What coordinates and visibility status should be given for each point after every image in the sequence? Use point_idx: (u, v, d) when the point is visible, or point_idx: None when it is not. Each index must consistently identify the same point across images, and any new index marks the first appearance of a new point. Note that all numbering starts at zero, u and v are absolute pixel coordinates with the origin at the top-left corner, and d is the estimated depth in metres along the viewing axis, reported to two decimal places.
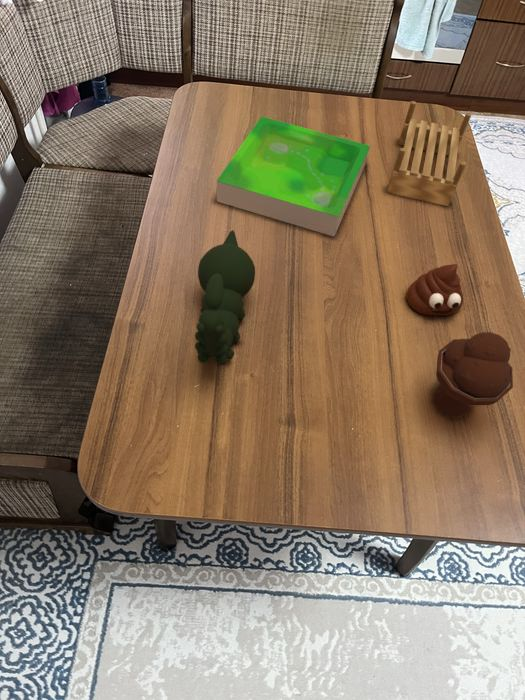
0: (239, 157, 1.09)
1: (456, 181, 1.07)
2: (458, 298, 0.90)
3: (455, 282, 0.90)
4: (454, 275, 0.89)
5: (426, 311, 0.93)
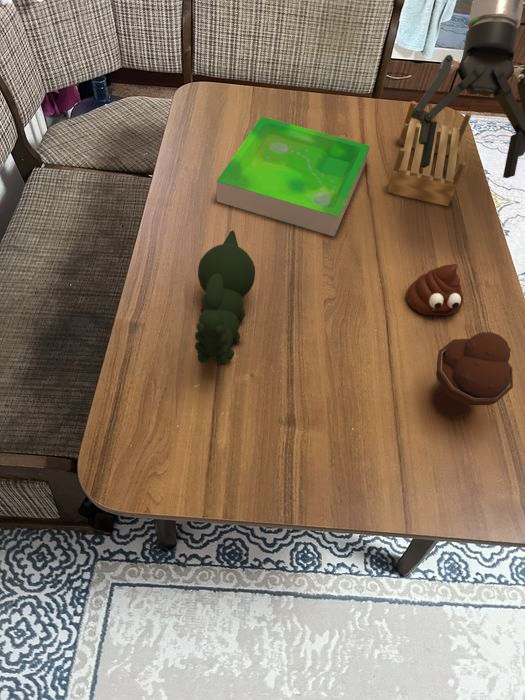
0: (239, 157, 1.09)
1: (456, 181, 1.07)
2: (458, 298, 0.90)
3: (455, 282, 0.90)
4: (454, 275, 0.89)
5: (426, 311, 0.93)
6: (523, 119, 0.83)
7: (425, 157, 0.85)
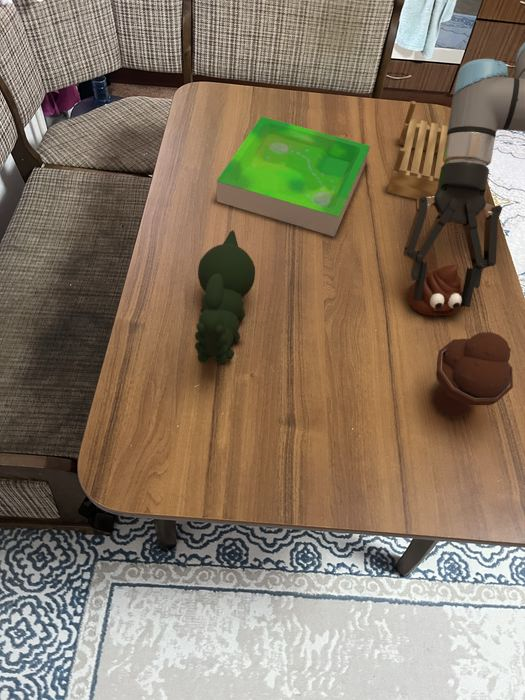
0: (239, 157, 1.09)
1: None
2: (459, 298, 0.90)
3: (455, 282, 0.90)
4: (455, 275, 0.89)
5: (427, 311, 0.93)
6: (480, 256, 0.88)
7: (417, 294, 0.90)
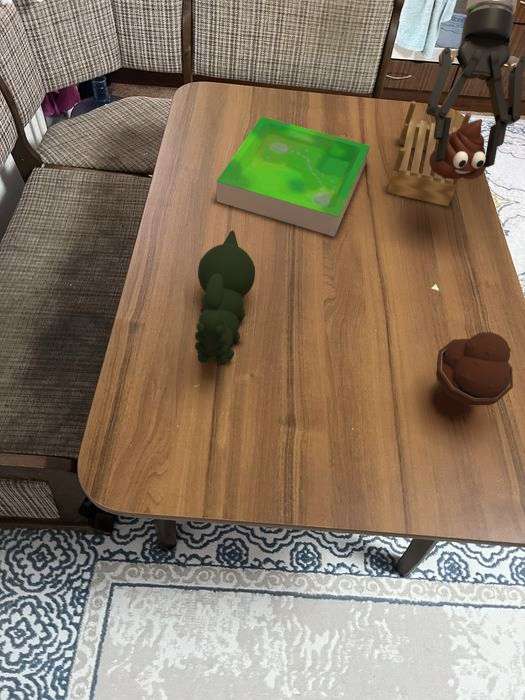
0: (239, 157, 1.09)
1: (456, 181, 1.07)
2: (483, 156, 0.89)
3: (479, 139, 0.88)
4: (479, 131, 0.88)
5: (450, 173, 0.91)
6: (504, 110, 0.87)
7: (441, 151, 0.88)
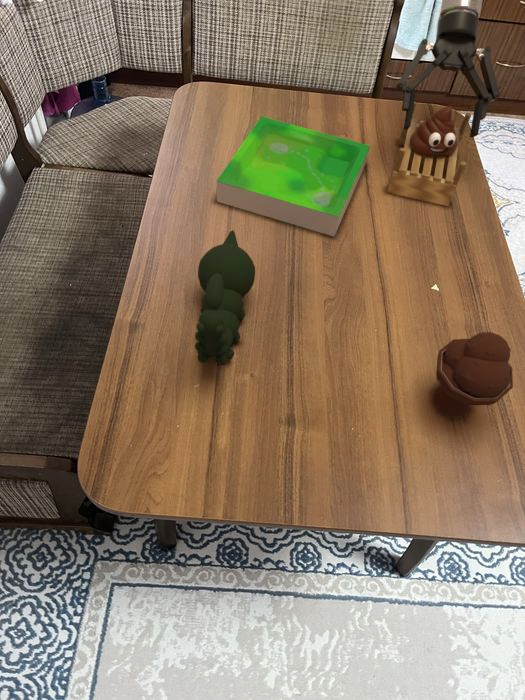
0: (239, 157, 1.09)
1: (456, 181, 1.07)
2: (453, 136, 1.07)
3: (450, 122, 1.07)
4: (449, 115, 1.06)
5: (426, 151, 1.10)
6: (484, 89, 1.05)
7: (407, 120, 1.06)
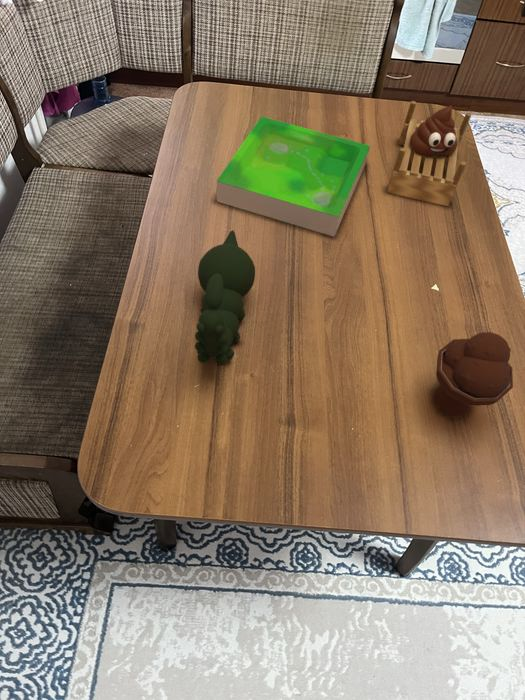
0: (239, 157, 1.09)
1: (456, 181, 1.07)
2: (453, 136, 1.07)
3: (450, 122, 1.07)
4: (449, 115, 1.06)
5: (426, 151, 1.10)
6: None
7: (523, 9, 0.90)
